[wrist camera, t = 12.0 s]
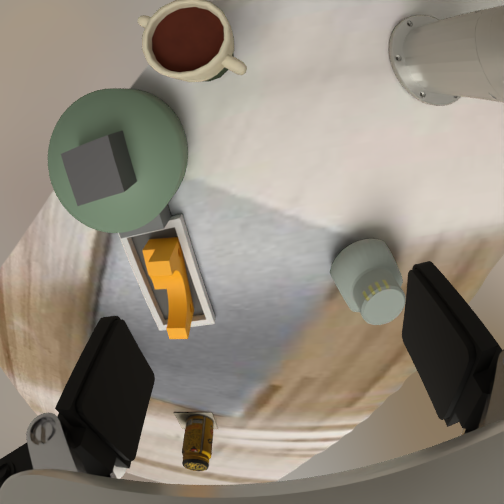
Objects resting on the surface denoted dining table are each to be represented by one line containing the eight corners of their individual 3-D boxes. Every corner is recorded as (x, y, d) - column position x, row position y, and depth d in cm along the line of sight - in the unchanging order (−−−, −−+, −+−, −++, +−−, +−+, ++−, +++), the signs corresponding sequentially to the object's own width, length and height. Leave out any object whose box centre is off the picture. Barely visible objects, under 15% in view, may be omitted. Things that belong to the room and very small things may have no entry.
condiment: (218, 428, 63) (215, 473, 52) (182, 428, 63) (175, 471, 53) (211, 411, 60) (207, 460, 49) (173, 411, 60) (165, 458, 49)
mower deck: (170, 70, 31) (146, 63, 23) (234, 314, 47) (232, 357, 39) (54, 116, 33) (13, 125, 25) (134, 327, 49) (118, 366, 41)
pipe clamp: (149, 239, 41) (134, 262, 35) (179, 236, 41) (169, 260, 35) (166, 310, 47) (157, 339, 41) (194, 309, 47) (187, 338, 41)
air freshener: (319, 252, 43) (336, 294, 34) (370, 221, 41) (400, 256, 32) (351, 304, 47) (369, 349, 38) (396, 277, 45) (423, 318, 36)
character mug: (152, 62, 31) (106, 49, 19) (184, 14, 28) (153, -22, 17) (230, 103, 34) (219, 105, 22) (263, 55, 31) (270, 32, 19)
